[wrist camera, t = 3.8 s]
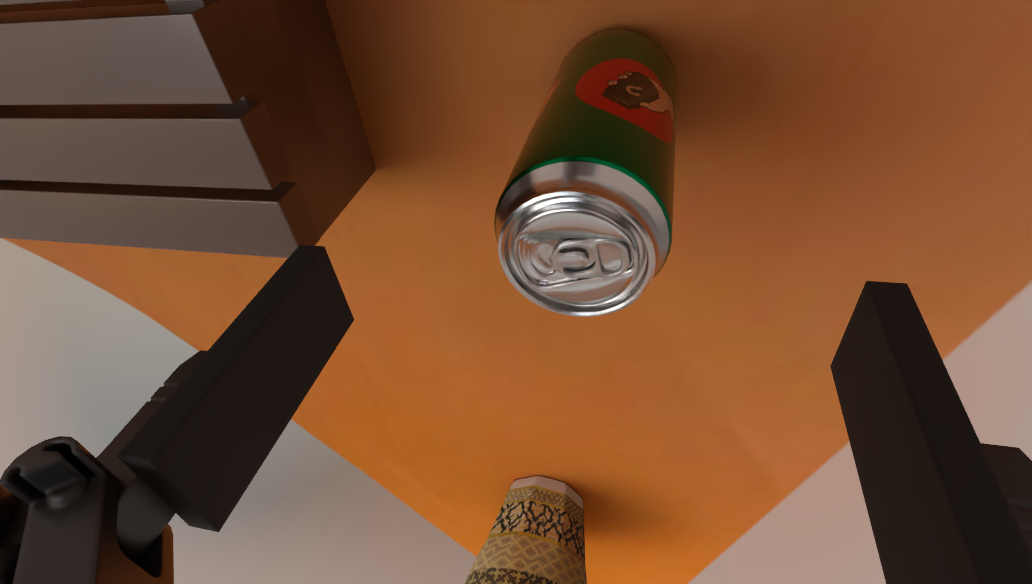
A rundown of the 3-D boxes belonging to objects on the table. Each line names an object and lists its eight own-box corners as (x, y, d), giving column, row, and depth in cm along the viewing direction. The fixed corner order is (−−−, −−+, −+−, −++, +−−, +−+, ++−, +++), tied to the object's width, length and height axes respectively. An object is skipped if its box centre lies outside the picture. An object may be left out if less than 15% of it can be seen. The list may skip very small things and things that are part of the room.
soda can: (546, 38, 23) (459, 190, 14) (672, 11, 21) (661, 166, 12) (569, 148, 26) (510, 329, 17) (681, 133, 24) (678, 325, 15)
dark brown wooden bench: (-188, -106, 26) (-597, -57, 18) (290, -175, 20) (6, -148, 11) (20, 161, 35) (-185, 275, 27) (389, 170, 29) (270, 322, 21)
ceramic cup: (497, 453, 46) (462, 575, 39) (613, 484, 45) (599, 615, 38) (486, 517, 55) (456, 626, 48) (583, 544, 54) (567, 660, 47)
